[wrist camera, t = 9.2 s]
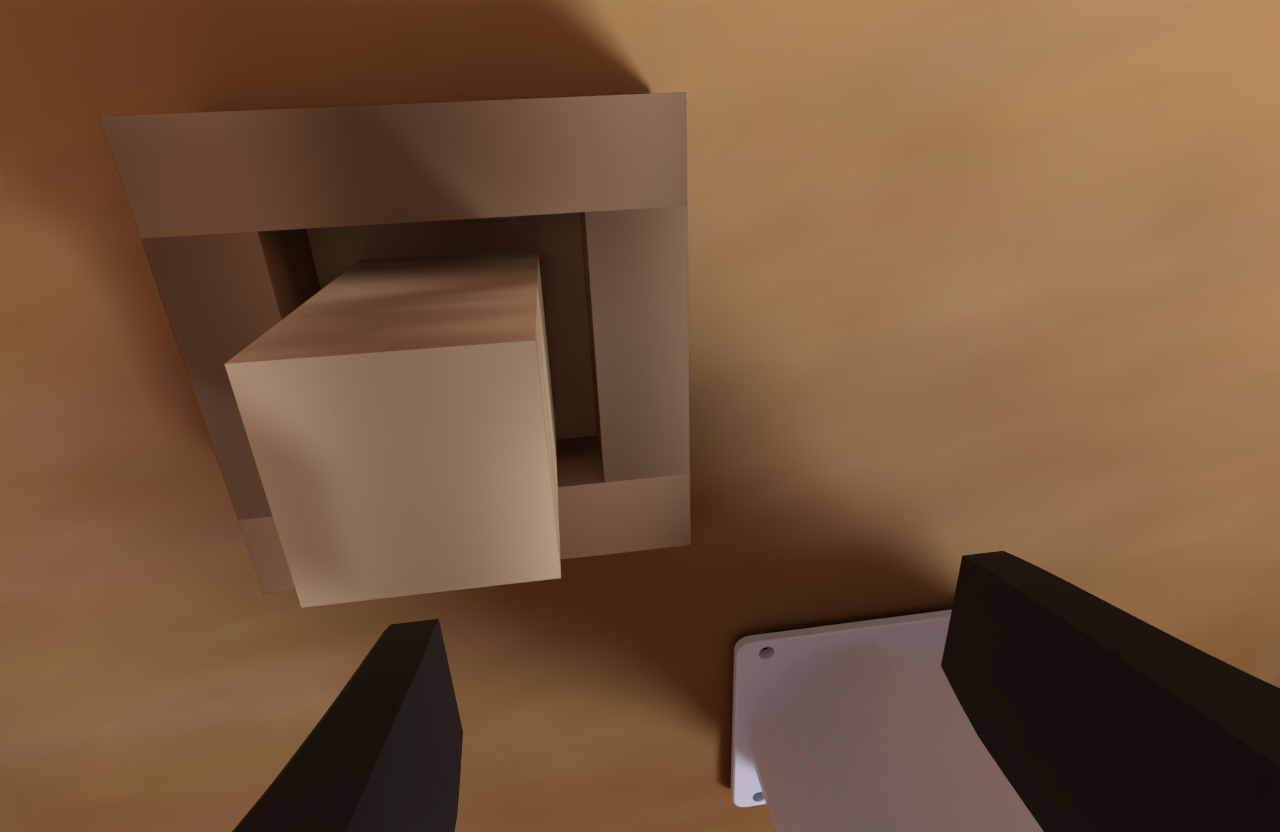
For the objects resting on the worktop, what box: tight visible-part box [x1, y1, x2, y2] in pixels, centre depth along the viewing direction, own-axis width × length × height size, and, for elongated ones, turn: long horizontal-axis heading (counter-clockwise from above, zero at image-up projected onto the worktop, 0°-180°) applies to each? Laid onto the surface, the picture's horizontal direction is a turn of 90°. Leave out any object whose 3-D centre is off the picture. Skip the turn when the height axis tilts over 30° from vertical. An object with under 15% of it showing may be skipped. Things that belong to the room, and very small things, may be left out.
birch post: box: [225, 249, 561, 608], centre depth 13 cm, size 4×4×7 cm
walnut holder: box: [98, 92, 691, 593], centre depth 15 cm, size 10×10×3 cm
